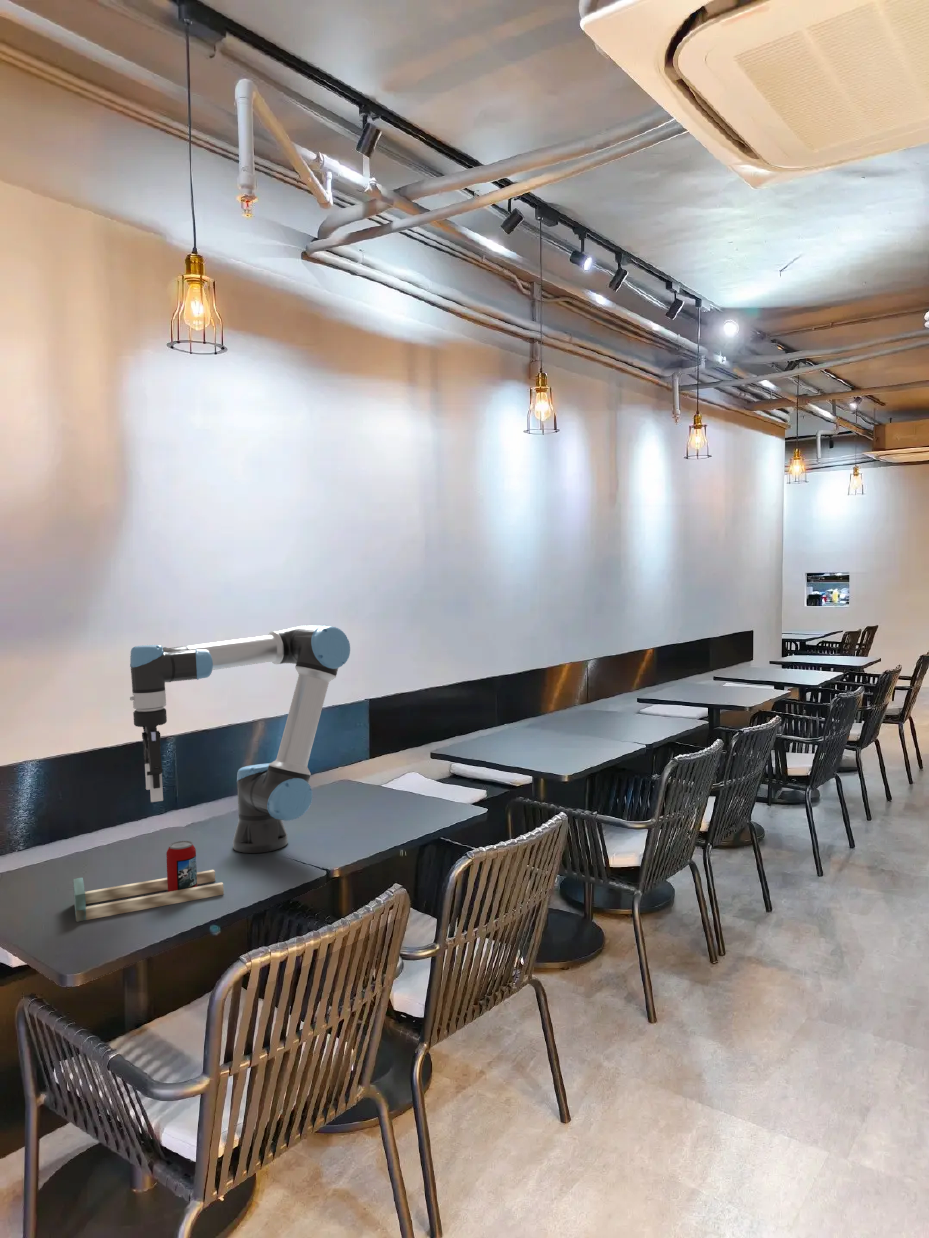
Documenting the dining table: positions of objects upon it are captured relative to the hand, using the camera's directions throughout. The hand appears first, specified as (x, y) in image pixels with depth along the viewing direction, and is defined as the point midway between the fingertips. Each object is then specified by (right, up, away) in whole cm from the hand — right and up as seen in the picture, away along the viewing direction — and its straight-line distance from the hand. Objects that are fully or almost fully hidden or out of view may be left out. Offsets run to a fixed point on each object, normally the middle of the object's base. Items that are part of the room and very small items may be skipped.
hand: (154, 794), depth 203 cm
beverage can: (+8, -23, -3) cm, 25 cm away
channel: (+1, -23, -6) cm, 24 cm away
